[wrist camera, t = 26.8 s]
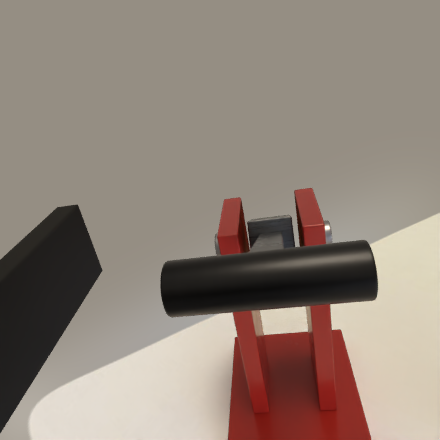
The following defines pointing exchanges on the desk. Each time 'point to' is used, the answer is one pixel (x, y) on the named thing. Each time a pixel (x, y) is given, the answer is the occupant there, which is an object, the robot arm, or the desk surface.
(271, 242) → the lever handle
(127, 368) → the desk surface
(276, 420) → the red lever stand
